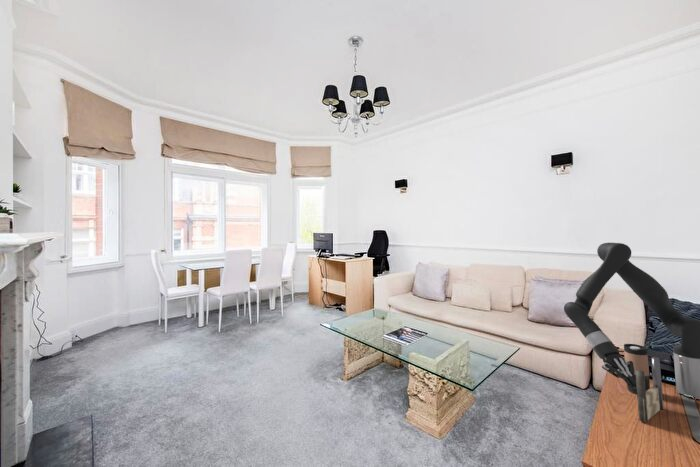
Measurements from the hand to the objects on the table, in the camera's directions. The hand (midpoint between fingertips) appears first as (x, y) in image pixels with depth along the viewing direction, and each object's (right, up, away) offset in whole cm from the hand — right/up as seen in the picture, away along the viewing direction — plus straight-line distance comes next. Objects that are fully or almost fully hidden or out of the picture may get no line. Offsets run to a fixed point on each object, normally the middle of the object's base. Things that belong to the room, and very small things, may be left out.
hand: (635, 387), depth 112 cm
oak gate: (+7, -11, +1) cm, 13 cm away
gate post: (+15, -11, +6) cm, 20 cm away
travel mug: (+19, -12, +18) cm, 29 cm away
